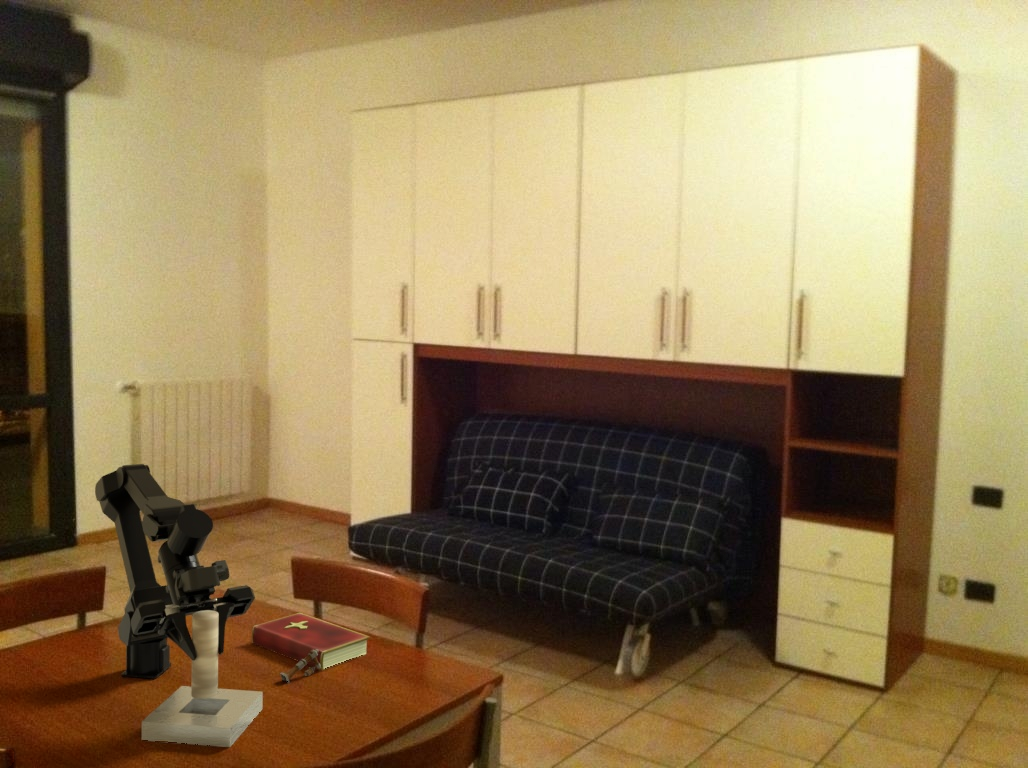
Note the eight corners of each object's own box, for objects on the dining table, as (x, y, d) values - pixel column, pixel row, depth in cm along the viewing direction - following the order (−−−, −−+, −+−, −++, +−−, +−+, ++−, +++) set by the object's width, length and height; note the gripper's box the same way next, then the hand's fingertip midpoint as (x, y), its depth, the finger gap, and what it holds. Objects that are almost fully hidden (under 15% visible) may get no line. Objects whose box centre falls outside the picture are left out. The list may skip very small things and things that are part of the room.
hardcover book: (321, 673, 176) (321, 651, 176) (251, 645, 189) (251, 625, 189) (369, 656, 186) (369, 635, 185) (299, 630, 199) (299, 611, 198)
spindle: (185, 694, 152) (186, 615, 151) (205, 686, 155) (206, 608, 154) (203, 701, 150) (204, 620, 149) (223, 692, 153) (224, 613, 152)
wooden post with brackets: (327, 667, 176) (319, 647, 175) (293, 694, 171) (284, 675, 170) (321, 664, 177) (313, 645, 176) (287, 691, 172) (279, 672, 171)
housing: (141, 740, 146) (141, 721, 146) (181, 703, 160) (181, 685, 160) (229, 747, 145) (230, 728, 145) (262, 709, 159) (262, 691, 159)
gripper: (137, 553, 148) (162, 643, 140) (251, 537, 159) (279, 620, 152) (120, 590, 154) (143, 678, 147) (231, 572, 166) (257, 653, 159)
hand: (208, 656), depth 151 cm, fingers closed on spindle, 4 cm apart
